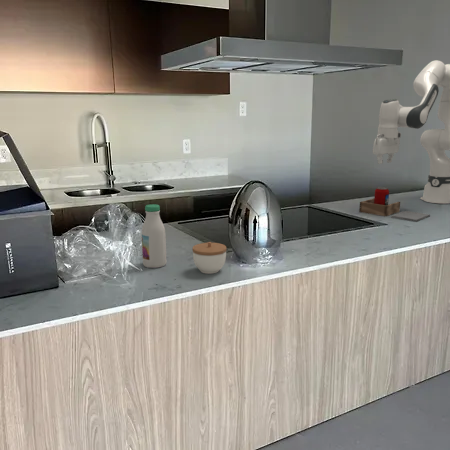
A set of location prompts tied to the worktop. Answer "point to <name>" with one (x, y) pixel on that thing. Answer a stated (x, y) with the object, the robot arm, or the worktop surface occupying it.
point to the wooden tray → (379, 208)
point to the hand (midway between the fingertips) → (384, 163)
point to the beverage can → (381, 196)
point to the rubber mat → (410, 216)
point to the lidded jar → (209, 257)
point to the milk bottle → (153, 238)
